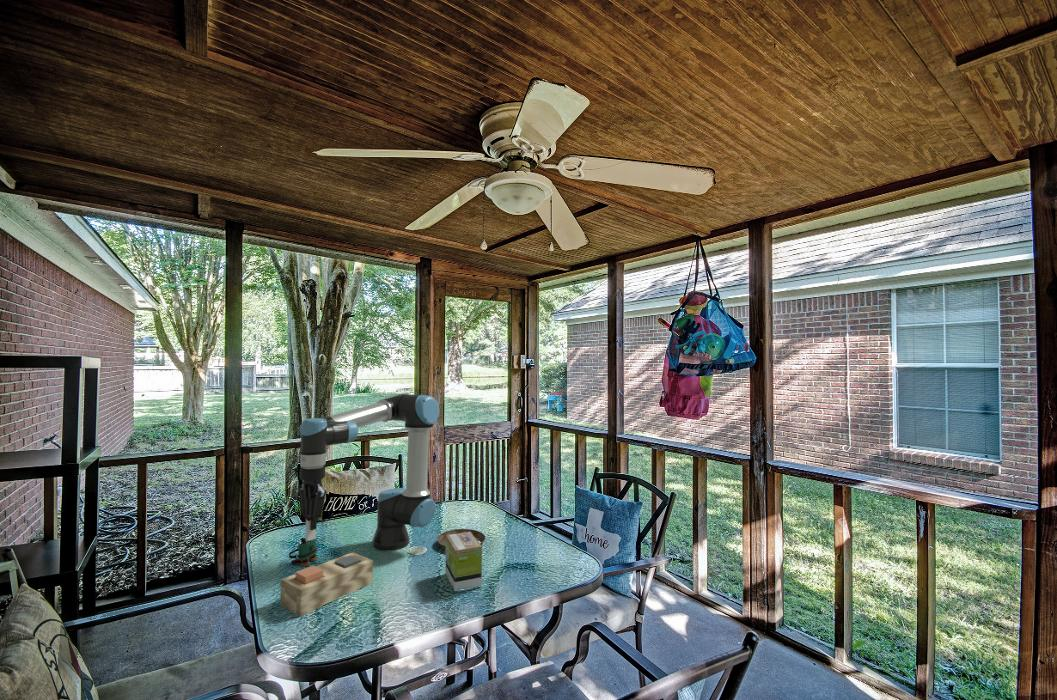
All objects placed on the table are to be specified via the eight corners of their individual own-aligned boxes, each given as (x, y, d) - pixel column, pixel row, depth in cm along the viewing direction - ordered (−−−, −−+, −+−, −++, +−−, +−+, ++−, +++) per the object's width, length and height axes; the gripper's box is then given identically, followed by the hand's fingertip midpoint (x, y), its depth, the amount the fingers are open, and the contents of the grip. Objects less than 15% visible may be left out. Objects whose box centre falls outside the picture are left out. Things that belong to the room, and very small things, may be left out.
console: (351, 574, 166) (352, 552, 166) (372, 583, 159) (373, 560, 160) (280, 604, 145) (281, 579, 145) (300, 616, 138) (301, 590, 138)
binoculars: (298, 531, 181) (320, 531, 179) (299, 558, 181) (321, 558, 179) (282, 539, 172) (304, 539, 171) (283, 568, 172) (306, 568, 170)
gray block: (349, 577, 162) (350, 555, 162) (359, 582, 159) (360, 559, 159) (334, 584, 157) (334, 561, 157) (344, 589, 154) (345, 565, 154)
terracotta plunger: (312, 589, 150) (313, 565, 151) (322, 595, 147) (323, 570, 147) (294, 597, 145) (295, 572, 146) (304, 603, 142) (305, 577, 142)
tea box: (444, 574, 167) (445, 534, 168) (470, 569, 171) (471, 530, 172) (454, 593, 154) (455, 549, 154) (482, 588, 157) (483, 545, 158)
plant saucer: (494, 547, 193) (494, 540, 193) (450, 559, 181) (450, 551, 181) (471, 532, 209) (471, 525, 209) (429, 542, 197) (429, 534, 198)
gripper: (290, 465, 148) (288, 538, 147) (313, 471, 141) (310, 547, 140) (312, 461, 154) (310, 531, 154) (335, 467, 147) (332, 540, 146)
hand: (310, 538), depth 147 cm, fingers closed
